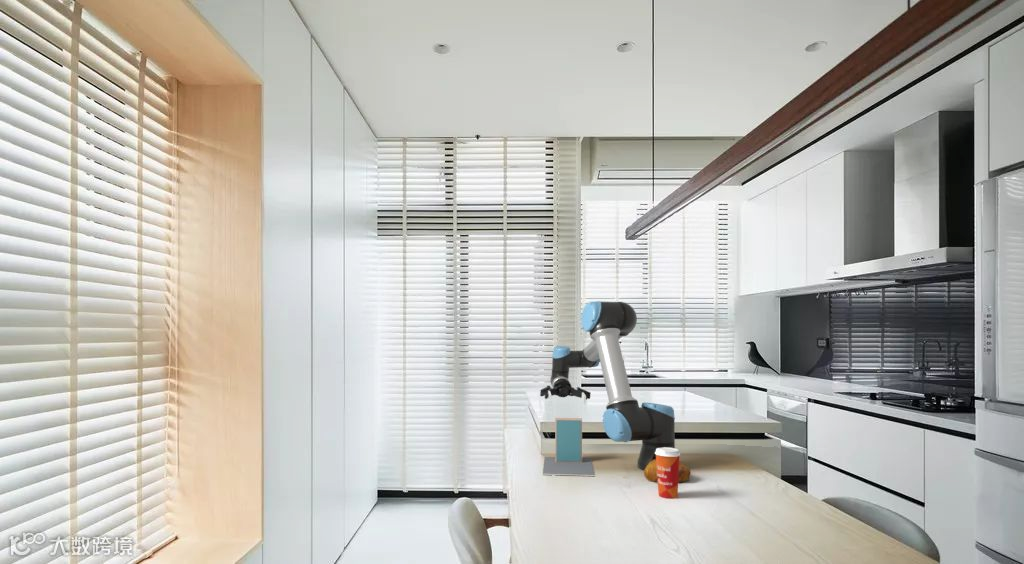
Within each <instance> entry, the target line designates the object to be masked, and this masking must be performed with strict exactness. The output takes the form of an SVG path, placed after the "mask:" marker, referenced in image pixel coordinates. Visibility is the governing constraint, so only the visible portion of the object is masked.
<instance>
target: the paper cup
mask: <svg viewBox="0 0 1024 564" xmlns="http://www.w3.org/2000/svg"><path fill="white" fill-rule="evenodd" d="M655 454H656V465H657V480H658V482H657V489H658V492H657V493H658V497H660V498H664V499H668V500H670V499H677V498H678V495H679V493H678V492H679V482H678V476H679V461H680V456H681V453H680V450H679V449H678V448H676V447H675V448H668V447H664V448H657V449H656V452H655Z"/></svg>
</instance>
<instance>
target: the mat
mask: <svg viewBox="0 0 1024 564" xmlns="http://www.w3.org/2000/svg"><path fill="white" fill-rule="evenodd" d="M543 459H544V460H543V468H542V475H549V476H552V475H555V476H557V477H559V476H560V477H562V476H563V477H579V476H586V477H588V478H589V477H592V478H593V477H596V473H595V470H594V465H593V461H592V457H582V463H575V462H555V456H544V458H543ZM552 477H553V476H552Z"/></svg>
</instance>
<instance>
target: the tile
mask: <svg viewBox="0 0 1024 564" xmlns="http://www.w3.org/2000/svg"><path fill="white" fill-rule="evenodd" d="M554 420H555V422H554V423H555V424H554V430H555V431H554V433H555V434H554V435H555V437H554V439H555V440H554V442H555V444H554V445H555V446H554V447H555V451H554V452H555V456H554V457H555V462H575V463H582V458H583V419H582V417H581V418H578V417H555V419H554Z"/></svg>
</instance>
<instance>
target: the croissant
mask: <svg viewBox="0 0 1024 564" xmlns="http://www.w3.org/2000/svg"><path fill="white" fill-rule="evenodd" d="M643 475H644V477H645V479H646V480H648V482H653V483H658V480H657V465H656V459H654V460H652V461H651V462H649V463H648V465H647V466H646V468H645V470H643ZM690 476H691V470H690V469H689V467H688V466H686V465H684V464H683V463H682V461H680V460H679V476H678V483H681V482H683V483H684V482H686V481H688V480H689V479H690Z"/></svg>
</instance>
